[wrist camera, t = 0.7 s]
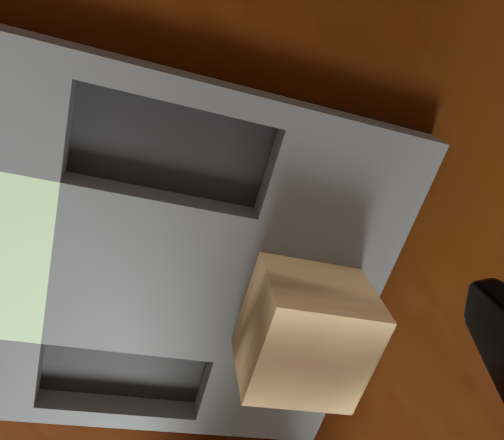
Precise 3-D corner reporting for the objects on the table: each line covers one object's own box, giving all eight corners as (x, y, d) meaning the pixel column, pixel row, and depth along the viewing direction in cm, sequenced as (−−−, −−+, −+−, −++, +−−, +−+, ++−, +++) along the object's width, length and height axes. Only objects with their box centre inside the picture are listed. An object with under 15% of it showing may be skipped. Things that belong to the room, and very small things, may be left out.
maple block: (326, 351, 24) (352, 415, 21) (231, 340, 23) (241, 405, 20) (361, 269, 22) (396, 324, 19) (259, 251, 21) (276, 307, 18)
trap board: (306, 420, 29) (312, 442, 27) (-115, 386, 23) (-132, 410, 22) (432, 134, 21) (449, 144, 20) (-136, -12, 16) (-164, -11, 15)
